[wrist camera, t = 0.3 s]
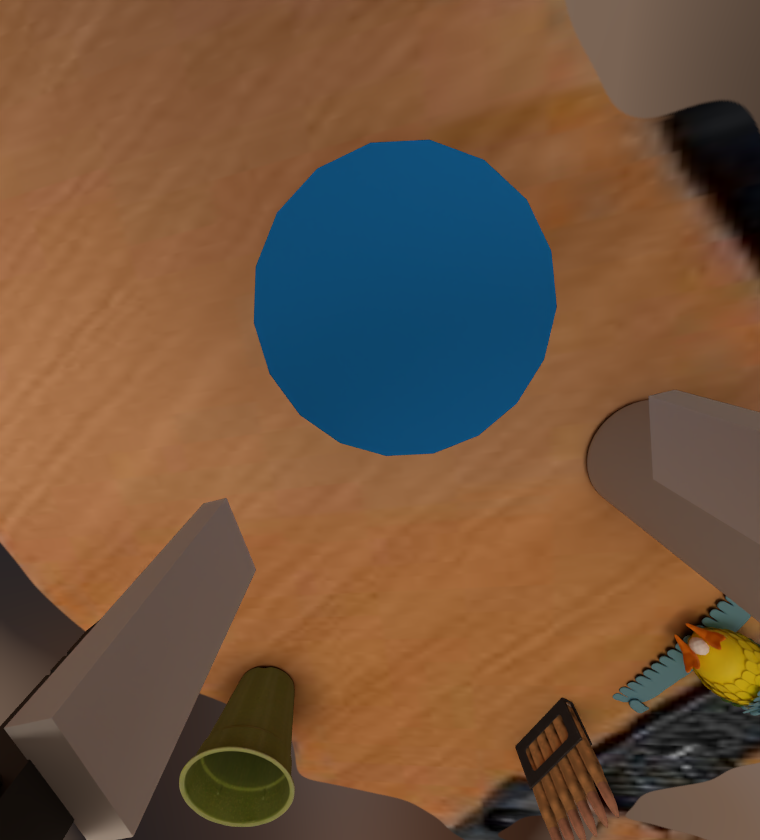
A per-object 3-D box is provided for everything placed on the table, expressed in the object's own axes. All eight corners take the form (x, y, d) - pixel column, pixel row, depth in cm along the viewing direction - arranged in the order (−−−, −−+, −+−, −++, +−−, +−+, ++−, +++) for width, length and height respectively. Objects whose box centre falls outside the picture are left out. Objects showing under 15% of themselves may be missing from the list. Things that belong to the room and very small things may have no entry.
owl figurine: (832, 580, 37) (921, 644, 39) (746, 530, 45) (824, 586, 48) (632, 756, 43) (721, 801, 45) (589, 683, 51) (666, 725, 54)
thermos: (308, 324, 37) (187, 344, 13) (373, 230, 35) (372, 44, 11) (395, 389, 39) (429, 511, 15) (461, 304, 37) (627, 284, 13)
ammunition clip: (525, 751, 54) (566, 871, 42) (514, 746, 53) (553, 866, 42) (572, 702, 51) (630, 815, 40) (562, 697, 51) (617, 809, 39)
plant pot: (233, 640, 47) (191, 736, 37) (323, 664, 49) (308, 764, 38) (211, 707, 50) (167, 814, 40) (297, 728, 52) (276, 838, 41)
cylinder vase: (714, 405, 40) (1226, 542, 16) (674, 509, 43) (1048, 753, 19) (602, 390, 39) (960, 509, 15) (570, 497, 43) (823, 732, 19)
